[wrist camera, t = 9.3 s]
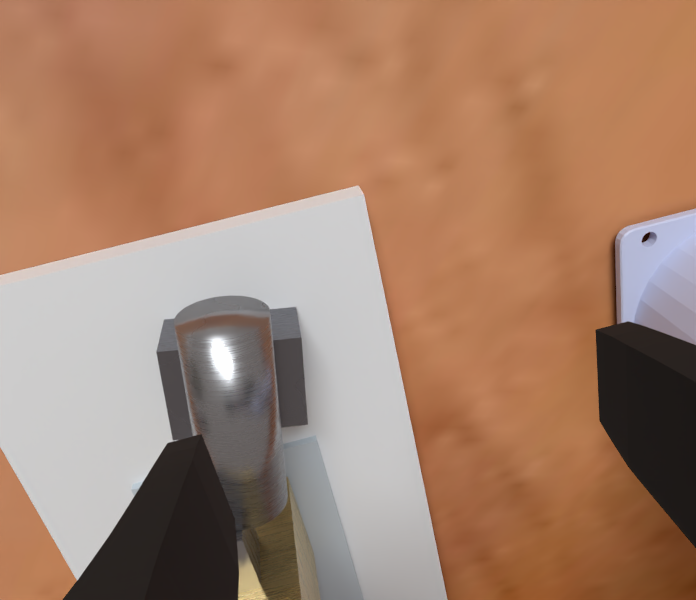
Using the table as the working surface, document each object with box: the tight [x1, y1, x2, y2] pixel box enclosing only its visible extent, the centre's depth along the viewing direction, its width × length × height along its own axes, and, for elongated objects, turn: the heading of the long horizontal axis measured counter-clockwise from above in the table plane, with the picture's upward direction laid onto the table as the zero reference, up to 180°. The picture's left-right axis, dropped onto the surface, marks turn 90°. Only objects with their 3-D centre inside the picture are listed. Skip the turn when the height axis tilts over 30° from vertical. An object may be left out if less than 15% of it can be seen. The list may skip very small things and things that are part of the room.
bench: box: [0, 186, 447, 600], centre depth 25 cm, size 13×25×1 cm, turn 12°
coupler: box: [236, 477, 320, 600], centre depth 21 cm, size 4×8×5 cm, turn 12°
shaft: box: [156, 296, 308, 530], centre depth 19 cm, size 6×4×4 cm, turn 2°
